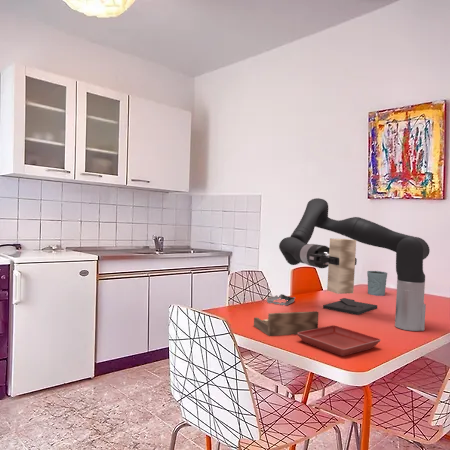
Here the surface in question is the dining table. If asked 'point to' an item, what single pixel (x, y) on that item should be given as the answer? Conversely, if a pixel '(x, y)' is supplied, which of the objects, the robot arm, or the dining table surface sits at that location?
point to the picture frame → (350, 306)
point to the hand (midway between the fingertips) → (346, 261)
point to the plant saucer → (338, 340)
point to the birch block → (342, 266)
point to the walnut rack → (287, 323)
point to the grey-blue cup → (376, 282)
